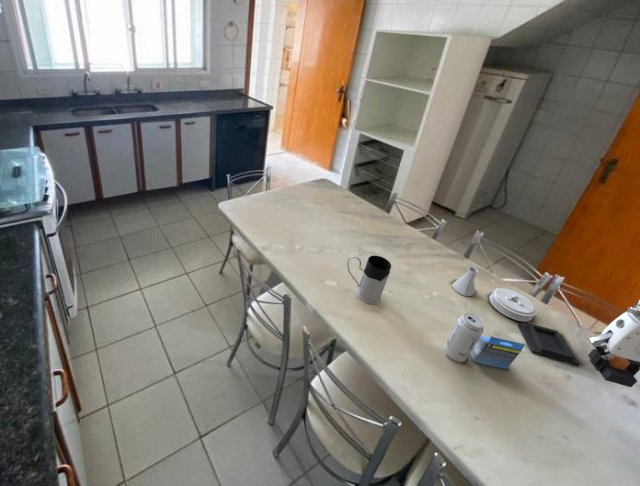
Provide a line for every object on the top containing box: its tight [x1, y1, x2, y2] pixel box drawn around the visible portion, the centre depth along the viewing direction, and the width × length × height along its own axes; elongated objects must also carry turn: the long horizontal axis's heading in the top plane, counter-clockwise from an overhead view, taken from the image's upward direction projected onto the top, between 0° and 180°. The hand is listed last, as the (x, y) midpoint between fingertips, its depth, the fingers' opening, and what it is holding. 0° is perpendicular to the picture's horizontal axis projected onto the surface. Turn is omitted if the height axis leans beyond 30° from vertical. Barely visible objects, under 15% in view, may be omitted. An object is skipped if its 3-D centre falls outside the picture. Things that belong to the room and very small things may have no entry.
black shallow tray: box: [517, 322, 581, 367], centre depth 104 cm, size 12×11×2 cm
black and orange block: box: [587, 348, 638, 388], centre depth 79 cm, size 5×7×5 cm
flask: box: [451, 266, 479, 297], centre depth 121 cm, size 7×7×10 cm
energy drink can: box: [443, 313, 485, 363], centre depth 95 cm, size 6×6×15 cm
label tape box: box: [469, 335, 526, 370], centre depth 94 cm, size 9×4×12 cm, turn 78°
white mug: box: [346, 255, 392, 306], centre depth 115 cm, size 9×14×15 cm, turn 60°
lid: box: [488, 287, 537, 323], centre depth 116 cm, size 13×13×5 cm
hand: (609, 369), depth 80 cm, fingers closed on black and orange block, 5 cm apart
